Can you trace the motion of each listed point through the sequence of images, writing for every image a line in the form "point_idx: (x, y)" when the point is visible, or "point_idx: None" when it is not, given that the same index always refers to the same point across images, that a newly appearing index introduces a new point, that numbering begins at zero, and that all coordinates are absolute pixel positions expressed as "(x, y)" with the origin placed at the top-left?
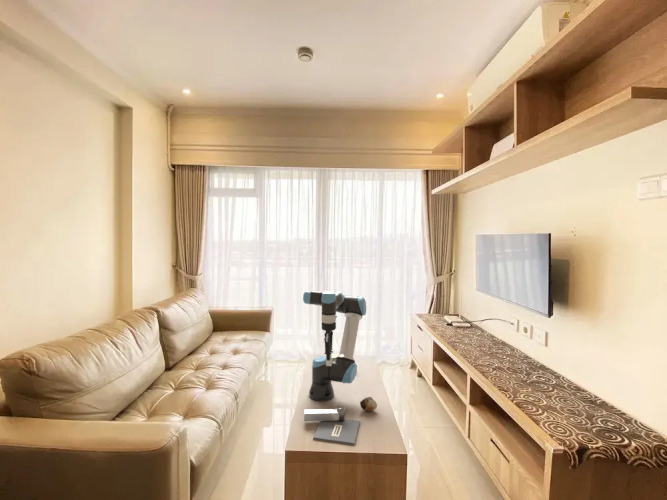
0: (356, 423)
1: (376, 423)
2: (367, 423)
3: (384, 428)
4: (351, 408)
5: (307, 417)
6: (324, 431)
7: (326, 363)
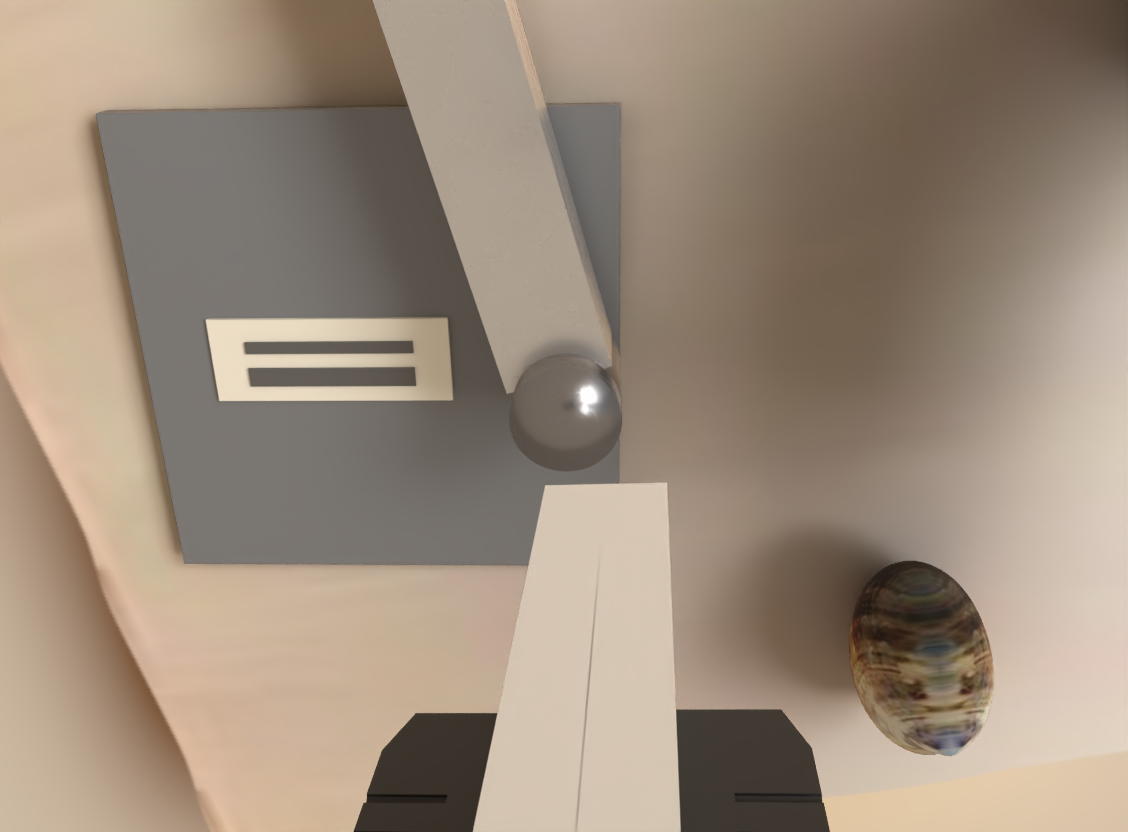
0: None
1: None
2: None
3: None
4: (933, 421)
5: None
6: (264, 220)
7: (531, 562)
